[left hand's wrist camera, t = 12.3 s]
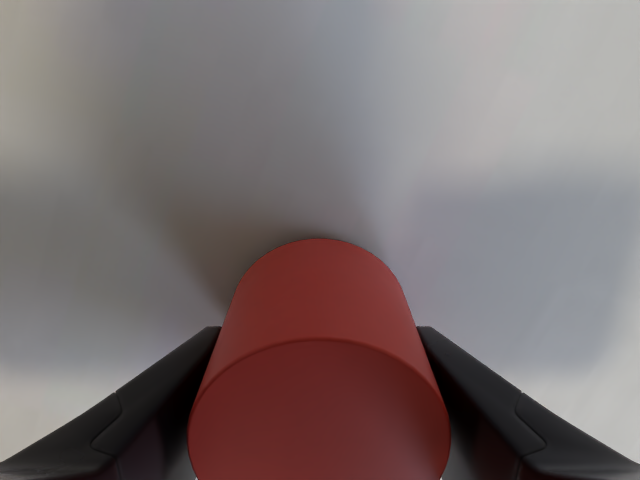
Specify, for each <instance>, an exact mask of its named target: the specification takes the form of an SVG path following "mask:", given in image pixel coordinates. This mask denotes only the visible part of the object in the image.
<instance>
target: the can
mask: <svg viewBox="0 0 640 480" xmlns="http://www.w3.org/2000/svg"><path fill="white" fill-rule="evenodd" d="M186 442H187V449H188V456H189V459H190V462H191V466H192V469H193V471H194V473H195V475H196V477H197V479H198V480H440V478H441V476H442V474H443V472H444V470H445V468H446V465H447V462H448V459H449V454H450V448H451V425H450V420H449V415H448V412H447V410H446V407H445V404H444V402H443V399H442V396H441V393H440V391H439V388H438V385H437V383H436V380H435V377H434V374H433V372H432V369H431V366H430V364H429V361H428V358H427V355H426V353H425V350H424V347H423V345H422V342H421V339H420V336H419V334H418V331H417V328H416V326H415V323H414V320H413V318H412V315H411V312H410V309H409V307H408V304H407V301H406V299H405V296H404V293H403V291H402V288H401V286H400V284H399V282H398V280H397V279H396V277H395V275H394V274H393V273H392V272H391V270H390V269H389V268H388V267H387V266H386V265H385V264H384V263H383V262H382V261H381V260H380V259H378V258H377V257H376V256H374V255H373V254H372V253H370V252H368V251H366V250H364V249H362V248H361V247H358V246H355V245H353V244H350V243H347V242H343V241H339V240H332V239H306V240H299V241H295V242H291V243H288V244H285V245H283V246H280V247H278V248H276V249H274V250H272V251H270V252H268V253H267V254H265V255H264V256H263V257H261V258H260V259H258V260H257V261H256V262H255V263H254V264H253V265H252V266H251V267H250V268H249V269H248V271H247V272H246V273H245V274H244V276H243V277H242V279H241V281H240V282H239V284H238V286H237V288H236V291H235V293H234V296H233V299H232V301H231V304H230V307H229V310H228V312H227V315H226V318H225V320H224V323H223V326H222V328H221V331H220V334H219V336H218V339H217V342H216V345H215V347H214V350H213V353H212V355H211V358H210V361H209V363H208V366H207V369H206V371H205V374H204V377H203V380H202V382H201V385H200V388H199V390H198V393H197V396H196V398H195V401H194V404H193V406H192V409H191V412H190V415H189V420H188V424H187V437H186Z"/></svg>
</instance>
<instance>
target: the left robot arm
mask: <svg viewBox="0 0 640 480" xmlns="http://www.w3.org/2000/svg"><path fill="white" fill-rule="evenodd" d="M221 328H222V327H220V326H209V327H206V328H205V329H203V330H202V331H200V332H199V333H197V334H196V335H195V336H193V337H192V338H190V339H189V340H188V341H186V342H185V343H183V344H182V345H180V346H179V347H178V348H176V349H175V350H173V351H172V352H171V353H169V354H168V355H166V356H165V357H163V358H162V359H161V360H159V361H158V362H156V363H155V364H154V365H152V366H151V367H149V368H148V369H146V370H145V371H144V372H142V373H141V374H139V375H138V376H137V377H135V378H134V379H132V380H131V381H129V382H128V383H127V384H125V385H124V386H122V387H121V388H119V389H118V390H117V391H116V393H112V394H111V395H109V396H108V397H107V398H105V399H104V400H102V401H101V402H99V403H98V404H96V405H95V406H93V407H92V408H90V409H89V410H88V411H86V412H85V413H83V414H81V415H80V416H78V417H77V418H75V419H73V420H72V421H70V422H69V423H67V424H65V425H64V426H62V427H60V428H59V429H57V430H55V431H54V432H52V433H50V434H49V435H47V436H45V437H44V438H42V439H40V440H39V441H37V442H35V443H34V444H32V445H30V446H29V447H27V448H25V449H23V450H22V451H20V452H18V453H17V454H15V455H13V456H12V457H10V458H8V459H6V460H5V461H3V462H0V480H195V479H196V475H195V473H194V471H193V469H192V466H191V462H190V459H189V456H188V449H187V442H186V437H187V424H188V420H189V415H190V412H191V409H192V406H193V404H194V401H195V398H196V396H197V393H198V390H199V388H200V385H201V382H202V380H203V377H204V374H205V371H206V369H207V366H208V363H209V361H210V358H211V355H212V353H213V350H214V347H215V345H216V342H217V339H218V336H219V334H220V331H221ZM416 328H417V331H418V334H419V336H420V339H421V342H422V345H423V347H424V350H425V353H426V355H427V358H428V361H429V364H430V366H431V369H432V372H433V374H434V377H435V380H436V383H437V385H438V388H439V391H440V393H441V396H442V399H443V402H444V404H445V407H446V410H447V412H448V415H449V420H450V425H451V448H450V454H449V459H448V462H447V465H446V468H445V470H444V472H443V474H442V476H441V477H442V480H640V464H638V463H636V462H634V461H632V460H630V459H628V458H626V457H625V456H623V455H621V454H620V453H618V452H616V451H615V450H613V449H611V448H610V447H608V446H606V445H605V444H603V443H601V442H600V441H598V440H596V439H595V438H593V437H591V436H590V435H588V434H586V433H585V432H583V431H581V430H580V429H578V428H576V427H575V426H573V425H572V424H570V423H568V422H567V421H565V420H563V419H562V418H560V417H559V416H557V415H555V414H554V413H552V412H551V411H549V410H548V409H546V408H545V407H544V406H542V405H541V404H539V403H538V402H536V401H535V400H533V399H532V398H531V397H529V396H528V395H526V394H525V393H522V392H521V390H519V389H518V388H516V387H515V386H513V385H512V384H511V383H509V382H508V381H506V380H505V379H504V378H502V377H501V376H499V375H498V374H497V373H495V372H494V371H492V370H491V369H490V368H488V367H487V366H485V365H484V364H483V363H481V362H480V361H478V360H477V359H476V358H474V357H473V356H471V355H470V354H469V353H467V352H466V351H464V350H463V349H462V348H460V347H459V346H457V345H456V344H454V343H453V342H452V341H450V340H449V339H447V338H446V337H445V336H443V335H442V334H440V333H439V332H438V331H436V330H435V329H433V328H432V327H429V326H418V327H416Z"/></svg>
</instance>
